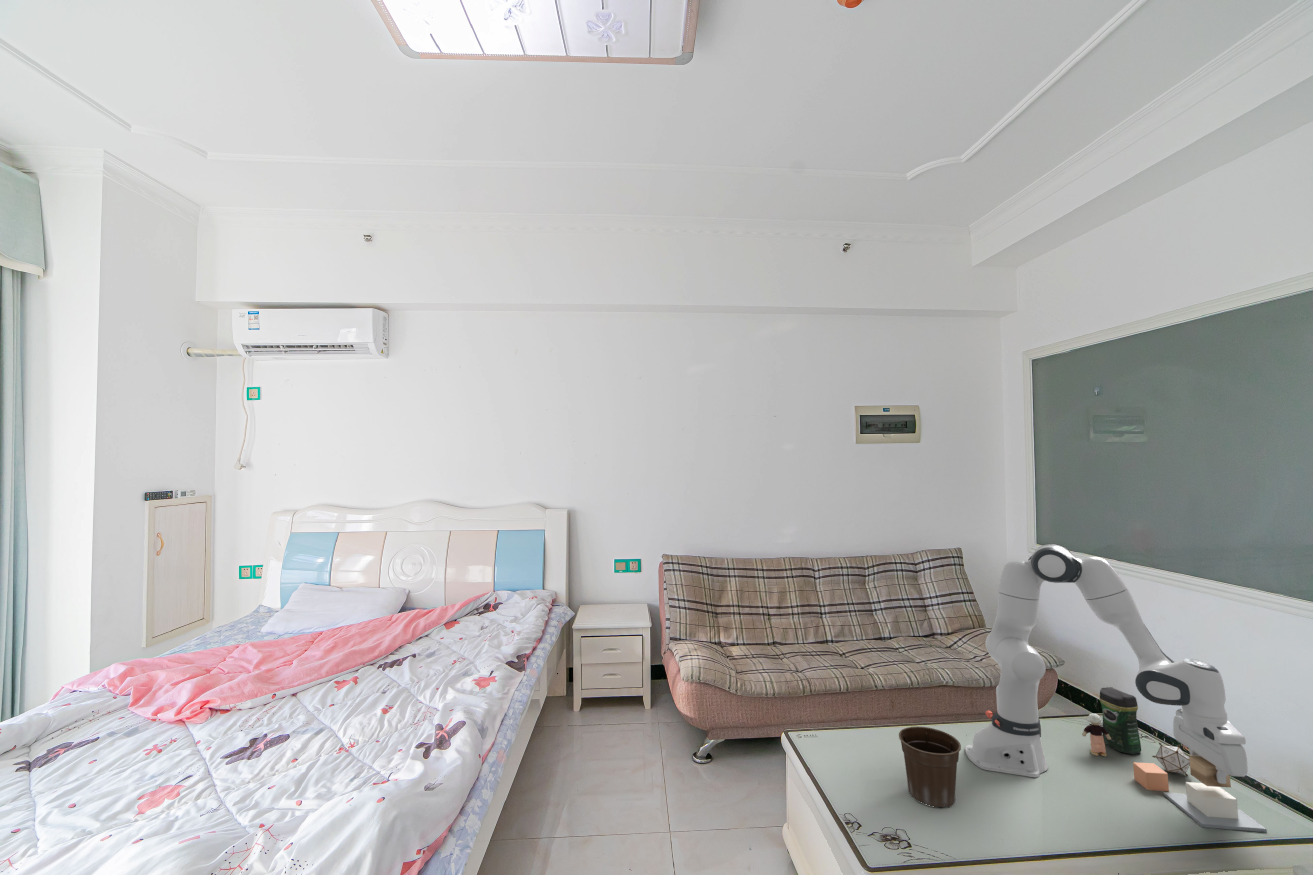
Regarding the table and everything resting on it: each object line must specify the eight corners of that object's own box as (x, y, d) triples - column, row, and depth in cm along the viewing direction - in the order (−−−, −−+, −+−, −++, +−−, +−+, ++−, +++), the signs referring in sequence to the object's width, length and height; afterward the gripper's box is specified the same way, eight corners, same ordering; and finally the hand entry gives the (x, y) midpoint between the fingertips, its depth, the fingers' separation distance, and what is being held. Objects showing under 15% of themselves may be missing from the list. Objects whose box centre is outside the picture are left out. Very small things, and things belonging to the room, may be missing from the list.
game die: (1177, 782, 167) (1190, 753, 169) (1191, 787, 160) (1205, 756, 162) (1142, 761, 172) (1155, 733, 173) (1155, 764, 164) (1169, 735, 166)
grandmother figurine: (1105, 750, 180) (1102, 711, 180) (1114, 756, 176) (1111, 716, 176) (1080, 750, 180) (1077, 710, 181) (1088, 756, 177) (1085, 716, 177)
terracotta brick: (1147, 789, 158) (1145, 772, 159) (1134, 779, 164) (1133, 762, 164) (1169, 791, 157) (1167, 773, 158) (1155, 780, 163) (1154, 763, 163)
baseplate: (1202, 826, 142) (1200, 803, 142) (1163, 794, 156) (1162, 773, 156) (1266, 831, 139) (1264, 808, 140) (1221, 798, 153) (1219, 777, 153)
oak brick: (1206, 785, 146) (1205, 766, 146) (1190, 774, 151) (1189, 755, 151) (1230, 787, 145) (1229, 767, 145) (1213, 775, 150) (1212, 756, 150)
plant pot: (961, 786, 162) (958, 731, 163) (966, 819, 148) (963, 758, 149) (902, 775, 169) (899, 722, 170) (901, 805, 155) (898, 747, 155)
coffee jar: (1147, 753, 177) (1142, 695, 178) (1126, 756, 176) (1121, 697, 177) (1117, 739, 187) (1113, 683, 188) (1097, 741, 185) (1093, 685, 186)
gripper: (1163, 705, 160) (1168, 753, 159) (1222, 740, 139) (1227, 795, 139) (1188, 706, 158) (1193, 755, 158) (1251, 741, 138) (1256, 797, 138)
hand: (1209, 774), depth 148 cm, fingers closed on oak brick, 5 cm apart
